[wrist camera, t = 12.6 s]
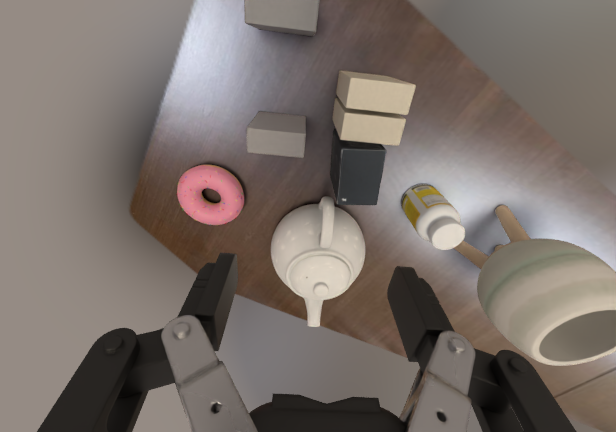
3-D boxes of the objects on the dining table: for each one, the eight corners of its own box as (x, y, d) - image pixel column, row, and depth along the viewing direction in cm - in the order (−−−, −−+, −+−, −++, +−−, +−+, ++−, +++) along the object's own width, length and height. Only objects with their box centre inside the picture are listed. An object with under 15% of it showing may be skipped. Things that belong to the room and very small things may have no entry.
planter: (516, 179, 46) (664, 270, 27) (537, 239, 53) (667, 345, 34) (427, 225, 51) (500, 330, 32) (457, 275, 58) (532, 385, 39)
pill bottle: (407, 219, 50) (432, 261, 40) (394, 193, 47) (418, 231, 37) (441, 204, 48) (476, 243, 39) (431, 175, 46) (466, 210, 36)
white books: (339, 70, 37) (350, 77, 28) (388, 76, 37) (416, 85, 28) (332, 118, 40) (340, 139, 31) (377, 123, 41) (398, 145, 32)
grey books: (259, 0, 33) (244, -18, 24) (316, 7, 33) (320, -7, 25) (258, 131, 41) (246, 152, 33) (303, 136, 42) (303, 158, 33)
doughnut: (205, 146, 43) (196, 155, 39) (259, 190, 47) (255, 202, 43) (170, 191, 47) (159, 202, 43) (222, 227, 51) (216, 240, 47)
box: (362, 175, 45) (377, 206, 36) (329, 174, 45) (335, 205, 36) (369, 128, 41) (388, 150, 32) (333, 127, 41) (341, 148, 32)
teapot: (383, 241, 53) (405, 294, 41) (311, 284, 59) (312, 341, 47) (325, 173, 45) (332, 216, 34) (249, 231, 51) (233, 284, 40)
